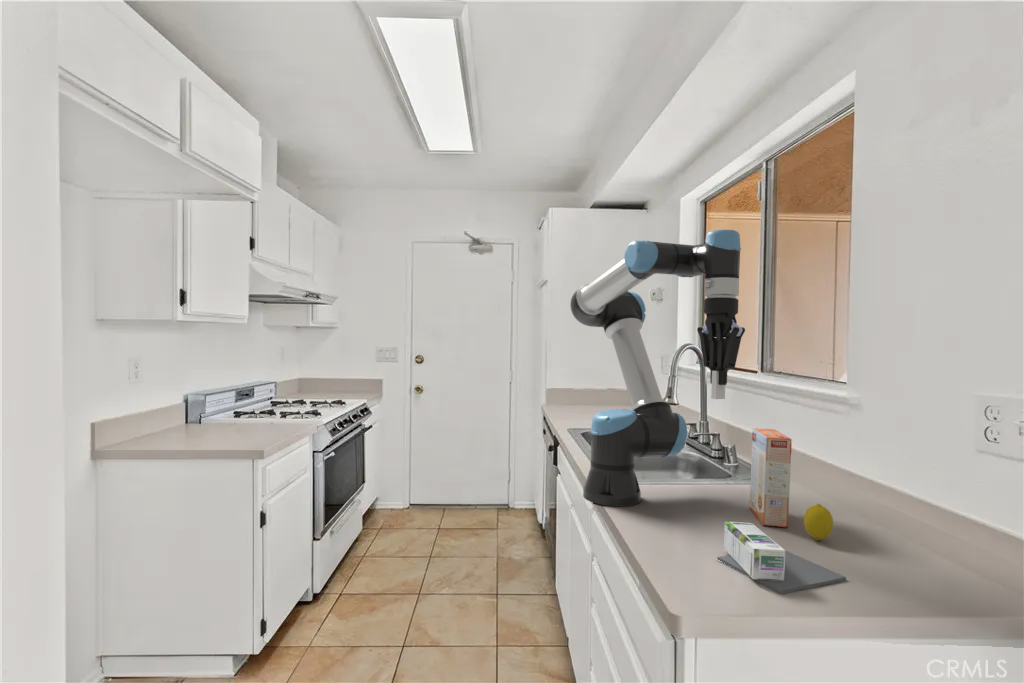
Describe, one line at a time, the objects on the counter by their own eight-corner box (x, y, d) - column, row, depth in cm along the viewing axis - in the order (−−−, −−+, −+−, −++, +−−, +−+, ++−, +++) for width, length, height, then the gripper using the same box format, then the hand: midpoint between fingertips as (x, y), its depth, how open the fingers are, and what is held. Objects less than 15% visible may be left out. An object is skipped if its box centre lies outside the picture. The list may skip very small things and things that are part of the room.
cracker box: (790, 528, 127) (793, 438, 127) (762, 526, 128) (764, 436, 128) (774, 510, 141) (776, 428, 141) (748, 508, 142) (751, 427, 142)
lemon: (802, 534, 124) (804, 498, 124) (831, 538, 121) (832, 502, 121) (803, 542, 119) (804, 505, 119) (833, 547, 116) (834, 509, 116)
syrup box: (752, 522, 112) (786, 548, 97) (751, 551, 112) (785, 582, 97) (724, 521, 112) (753, 547, 98) (723, 550, 112) (752, 580, 98)
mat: (717, 560, 108) (717, 557, 108) (777, 549, 114) (777, 546, 114) (781, 594, 94) (781, 590, 94) (846, 580, 100) (846, 576, 100)
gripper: (689, 298, 133) (686, 395, 134) (729, 295, 121) (726, 402, 122) (713, 299, 136) (710, 395, 137) (755, 296, 124) (752, 401, 124)
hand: (718, 398), depth 129 cm, fingers closed
